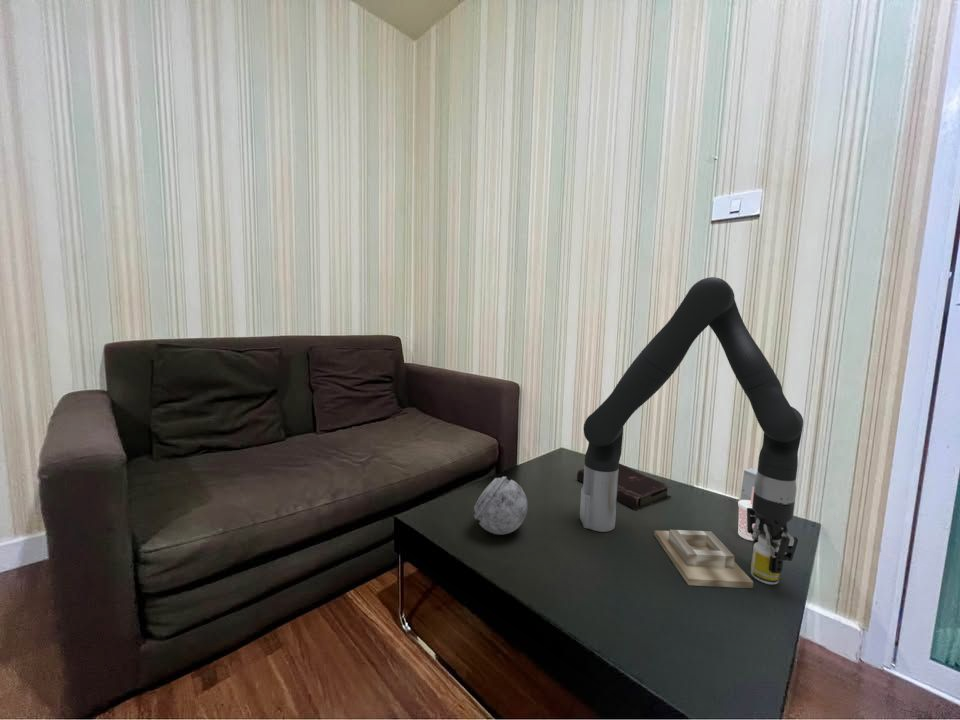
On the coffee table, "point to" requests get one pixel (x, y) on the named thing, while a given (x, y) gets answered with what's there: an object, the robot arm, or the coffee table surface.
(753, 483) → the skincare box
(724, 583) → the socket board
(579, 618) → the coffee table surface
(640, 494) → the diary
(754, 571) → the supplement bottle
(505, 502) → the decorative orb
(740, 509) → the beverage cup
